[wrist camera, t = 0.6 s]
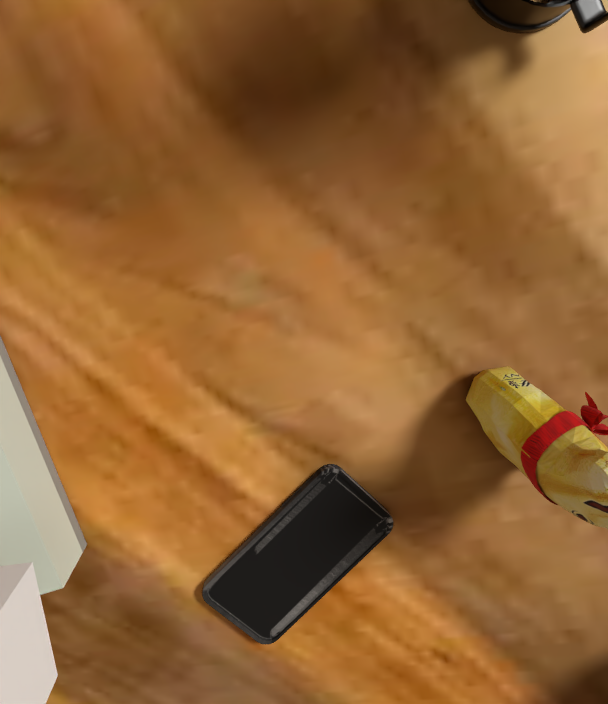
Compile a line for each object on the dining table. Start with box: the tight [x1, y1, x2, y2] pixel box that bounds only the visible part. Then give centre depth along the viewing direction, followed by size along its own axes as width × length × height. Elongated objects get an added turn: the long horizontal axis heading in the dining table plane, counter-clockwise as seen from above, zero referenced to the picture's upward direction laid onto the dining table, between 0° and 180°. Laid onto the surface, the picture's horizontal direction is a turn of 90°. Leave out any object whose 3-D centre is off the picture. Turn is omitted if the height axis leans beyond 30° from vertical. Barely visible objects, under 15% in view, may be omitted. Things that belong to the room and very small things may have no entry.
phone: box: [202, 464, 393, 644], centre depth 40 cm, size 8×1×15 cm
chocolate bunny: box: [466, 366, 608, 529], centre depth 33 cm, size 7×11×15 cm, turn 38°
